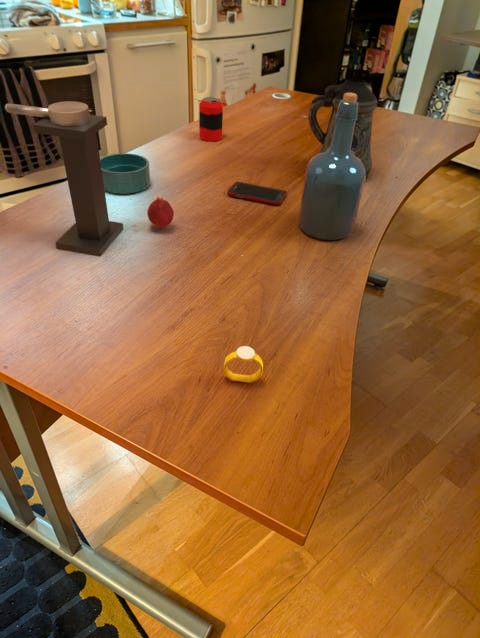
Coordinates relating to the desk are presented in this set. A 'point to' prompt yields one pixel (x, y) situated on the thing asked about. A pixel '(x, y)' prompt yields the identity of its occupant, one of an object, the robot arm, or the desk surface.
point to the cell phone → (257, 193)
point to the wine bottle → (334, 181)
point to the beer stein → (362, 124)
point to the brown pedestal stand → (84, 186)
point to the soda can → (210, 119)
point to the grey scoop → (56, 112)
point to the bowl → (125, 173)
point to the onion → (160, 213)
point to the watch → (246, 356)
